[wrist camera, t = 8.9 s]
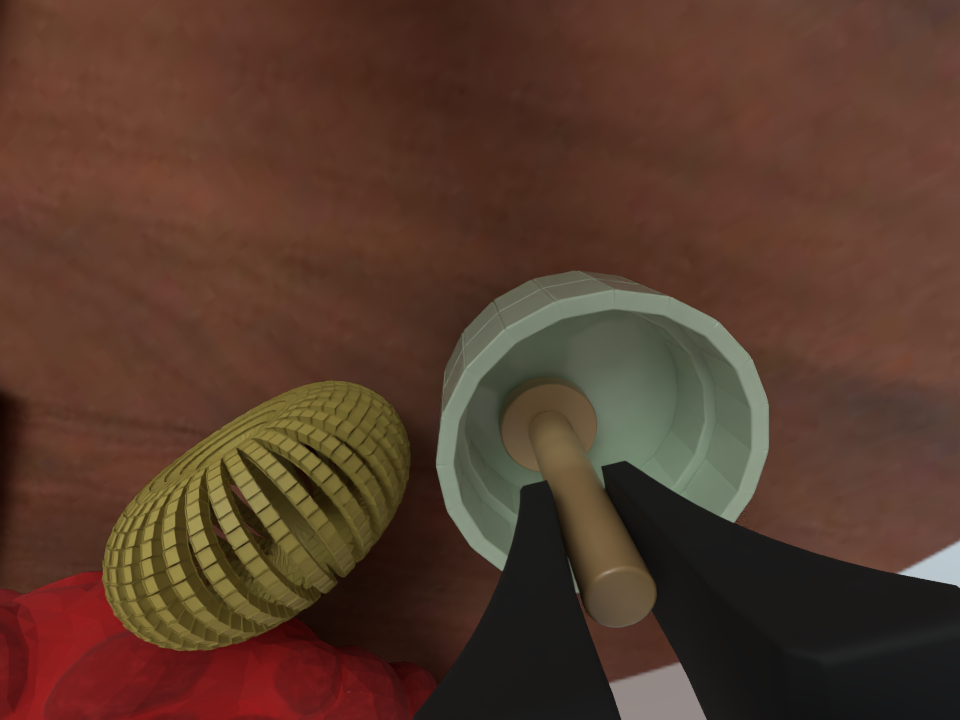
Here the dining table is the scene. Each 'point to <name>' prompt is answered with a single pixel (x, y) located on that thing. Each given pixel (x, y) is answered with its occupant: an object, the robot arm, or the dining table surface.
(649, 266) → the dining table surface
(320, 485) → the sculpture
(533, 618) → the robot arm
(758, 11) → the dining table surface
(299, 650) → the toy
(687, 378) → the bowl
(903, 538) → the dining table surface
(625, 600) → the stirrer
